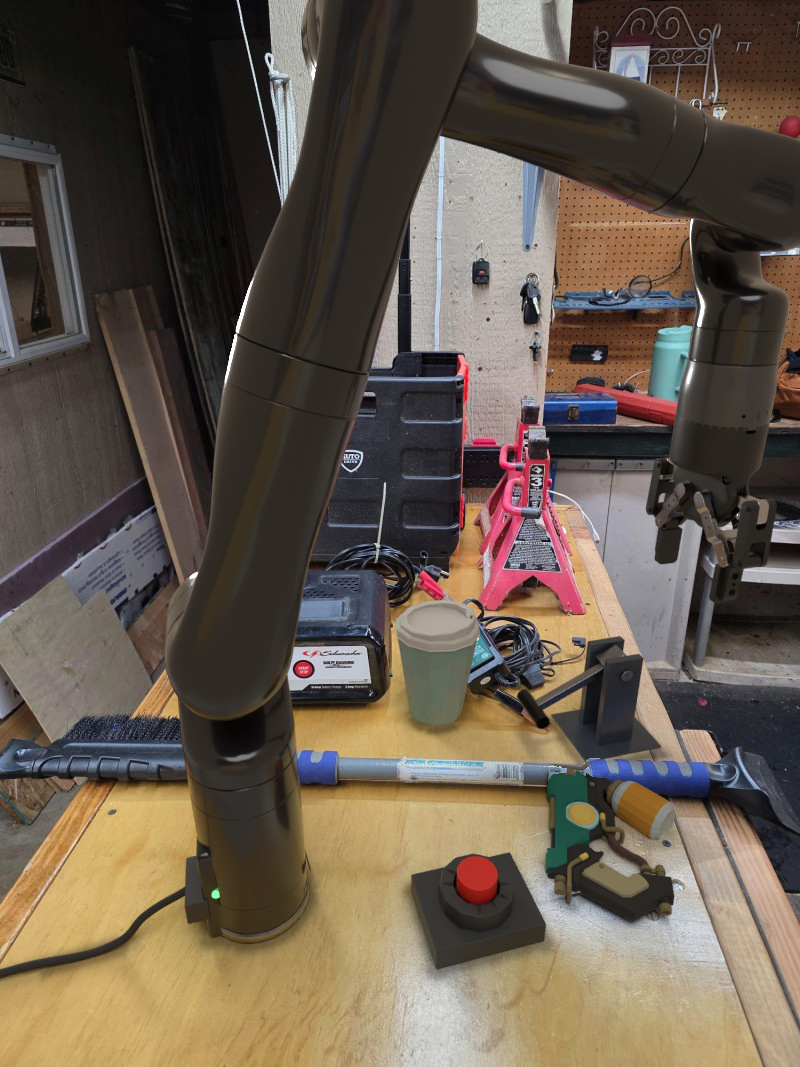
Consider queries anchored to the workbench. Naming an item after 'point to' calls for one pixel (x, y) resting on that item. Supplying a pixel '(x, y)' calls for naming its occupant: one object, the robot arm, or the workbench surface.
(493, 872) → the button
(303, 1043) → the workbench surface
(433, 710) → the disposable coffee cup
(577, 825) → the spray gun
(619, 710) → the bracket
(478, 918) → the control box
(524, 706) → the lever
